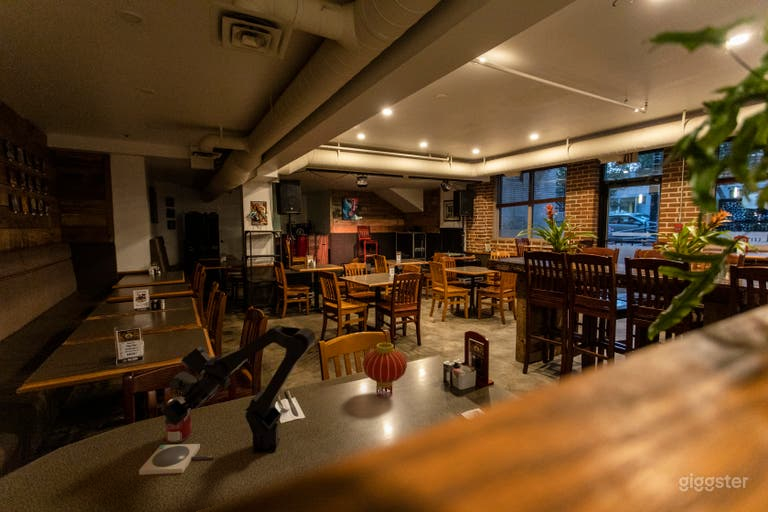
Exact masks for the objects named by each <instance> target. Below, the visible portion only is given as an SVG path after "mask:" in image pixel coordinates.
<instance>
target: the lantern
mask: <svg viewBox="0 0 768 512" xmlns="http://www.w3.org/2000/svg"><path fill="white" fill-rule="evenodd" d="M386 321H387V320H385V322H384V325H385V326H384V327H385V328H384V329H385V330H384V334H386V330H387V329H386V327H387V325H386ZM394 347H395V345H394V343H390V342H379V343H377V344H376V347H375V348H374V349H372V350H371V351H369V352H367V354H366V355H365V357H364V358H363V361H362V368H363V371H364V374H365V375H366V376H367V377H368V378H369V379H371V380H372V381H374V382H376V388H375V389H376V392H375V393H377V394H378V395H379V393H378V390H379V391H380V397H381V396H382V397H383V398H385V397H387V398H388V392H387V389H388V390H390V392H389V394H390V396H391V395H392V396H393V384H394V383H393V382H396V381H398V380H399V379H401V378H403V376H404V375H405V373H406V370H407V368H408V365H407V364H408V362H407V358H406V357H405V355H403V353H402V352H400V351H399V350H397V349H395V348H394ZM383 389H385V391H383Z"/></svg>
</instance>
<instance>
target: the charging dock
mask: <svg viewBox="0 0 768 512" xmlns="http://www.w3.org/2000/svg"><path fill="white" fill-rule="evenodd" d="M200 447H201V444H200V443H185V444H183V443H182V444H160V445H159V447H158V448H157V449H156V450H155V452H154V453H153V454H152V455H151V456H150V457H149V458H148V459H147V461H145V463H144V464H143V465H142V466H141V467H140V468H139V470H138V475H141V476H142V475H162V474H163V475H164V474H183V473H184V472H185V470H186V469H187V467H188V466H189V464H190V463H191V461H192V460H193V461H198V460H214V459H215V455H205V456H204V455H199V456H198V455H197V456H195V455H196V454H197V453H198V451H199V450H200V449H201V448H200Z"/></svg>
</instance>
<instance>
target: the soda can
mask: <svg viewBox="0 0 768 512" xmlns="http://www.w3.org/2000/svg"><path fill="white" fill-rule="evenodd" d="M184 398H185V397H182V396H176V397H173V398H171V399H169V400H168V401H167V403H166V404H168V403H169V402H171V401H172V400H178V401H179V402H180V403H181V404H183V403H184V402H186V401H184ZM188 405H189V404H188ZM188 405H187V406H188ZM187 406H185V407H187ZM187 411H188V415H187V416H186V418H184V419H183V420H182V421H181V422H179V423H178V424H177V425H173V424H172V423H171V424H168V425H167V424H166V423H165V435H166V437H165V439H166V441H167V442H169V443H181V442H183V441H185V440H186V439H188V438H189V437H190V436H191V435H192V414H191V412H192V409H191V408H190V409H188V410H187ZM164 417H165V419H166V418H167V417H166V416H165V415H164Z"/></svg>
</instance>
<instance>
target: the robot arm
mask: <svg viewBox="0 0 768 512" xmlns="http://www.w3.org/2000/svg"><path fill="white" fill-rule="evenodd" d="M316 337H317V336H316V333H315V332H314V331H313V330H312V329H311V328H308V327H304V328H300V327H295V326H293V327H292V326H283V325H279V324H278V325H277V324H276V325H273V326H272V327H271V328H269V329H267V331H266V332H264V333H263V334H261V335H259V336H258V337H256V338H255V339H253V340H252V341H250V342H249V343H247V344H245V345H244V346H242V347H240V348H237V349H236V348H235V349H234V350H232V351H229V352H227V353H225V354H223V355H216V356H214V357H213V358H211V356H209V354H208V353H207V352H206V351H205V350H204V348H203V347H202V346H201V345H199V346H197V347H195V349H194V350H192V351H190V352H189V353H188V354H186V355H185V356H184V357H183V358H182V359H181V361H180V362H181V363H182V364H183V365H184V366H185V367H186V369H188V371H189V372H190V373H188V372H187V371H180V372H179V373H177V374H175V375H174V377H173V378H171V380H169V381H168V384H169V386H168V387H169V388H170V389H171V390H173V391H174V392H177V391H179V392H181V393H180V397H185V398H184V401H186V402H184V403H183V404H181V403H180V402H179V401H178V400H172V401H171V402H169V403H168V404H167V403H165V405H164V406H163V407H162V408H161V410H160V412H161V413H162V415H164V417H165V416H166V417H167V418H165V420H164V423H165V425H166V424H167V425H168V424H171V423H172V424H173V425H177V424H178V423H179V422H181V421H182V420H183V419H184V418H186V416H187V415H188V411H187V410H188V409H190V408H191V410H192V409H196V408H198V407H199V406H201V405H204V404H205V403H206V402H207V401H209V400H210V399H211V398H213V397H214V396H215V395H216V394H217V389H218V388H219V387H221V388H222V390H224V389H225V388H227V387H229V385H231V384H232V383H231V377H230V375H231V374H232V373H234V372H235V371H237V370H238V369H239V368H240V367H241V366H242V365H243V364H244V363H245V362H246V361H247V360H248V359H249V358H250V357H253V356H254V355H256V354H257V353H259V352H260V351H262V350H263V349H265V348H266V347H268V346H270V345H271V344H272V343H273V344H277V345H279V346H280V347H282V348H283V349H285V355H284V358H283V359H282V361H281V362H280V364H279V365H278V368H277V370H276V371H275V372H274V374H273V376H272V377H271V380H269V383H268V384H267V386H266V387H265V390H264V391H263V390H259V392H258V393H256V395H254V397H252V398H251V400H250V403H249V405H248V406H247V407H246V409H244V410H245V411H246V413H245V415H244V417H245V419H246V421H247V424H248V425H249V428H250V431H251V434H252V449H253V450H252V453H253V454H257V453H258V454H259V453H260V454H261V453H275V452H276V451H277V448H278V446H279V443H280V437H279V421H280V420H281V416H282V413H281V412H280V411H279V409H278V408H276V403H277V398H278V395H279V394H280V392H281V390H282V389H283V387H284V386H285V384H286V382H287V381H288V379H289V377H290V376H291V373H292V372H293V370H294V369H295V368H296V365H297V364H298V362H299V361H300V359H301V358H302V357H303V356H304V355H305V354H306V352H307V351H309V349H311V347H312V346H313V345H314V344H315V342H316V340H317V338H316ZM203 373H204V374H203ZM196 375H198V376H200V375H201V376H200V378H198V379H197V378H196ZM188 404H189V405H188ZM187 405H188V406H187ZM185 406H187V407H185Z"/></svg>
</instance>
